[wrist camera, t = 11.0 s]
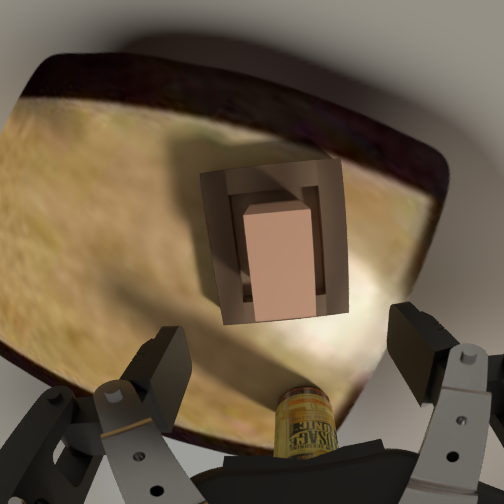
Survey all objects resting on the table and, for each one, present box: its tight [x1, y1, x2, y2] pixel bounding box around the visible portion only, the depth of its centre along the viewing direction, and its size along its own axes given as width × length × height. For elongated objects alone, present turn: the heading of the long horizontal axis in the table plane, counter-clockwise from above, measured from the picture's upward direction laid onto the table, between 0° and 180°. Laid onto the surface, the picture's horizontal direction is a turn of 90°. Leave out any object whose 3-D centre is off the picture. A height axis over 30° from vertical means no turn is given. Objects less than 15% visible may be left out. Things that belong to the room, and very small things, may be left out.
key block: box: [243, 199, 316, 322], centre depth 22 cm, size 7×4×7 cm, turn 6°
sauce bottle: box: [274, 387, 338, 460], centre depth 21 cm, size 6×6×20 cm
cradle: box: [200, 158, 349, 325], centre depth 25 cm, size 11×13×2 cm
